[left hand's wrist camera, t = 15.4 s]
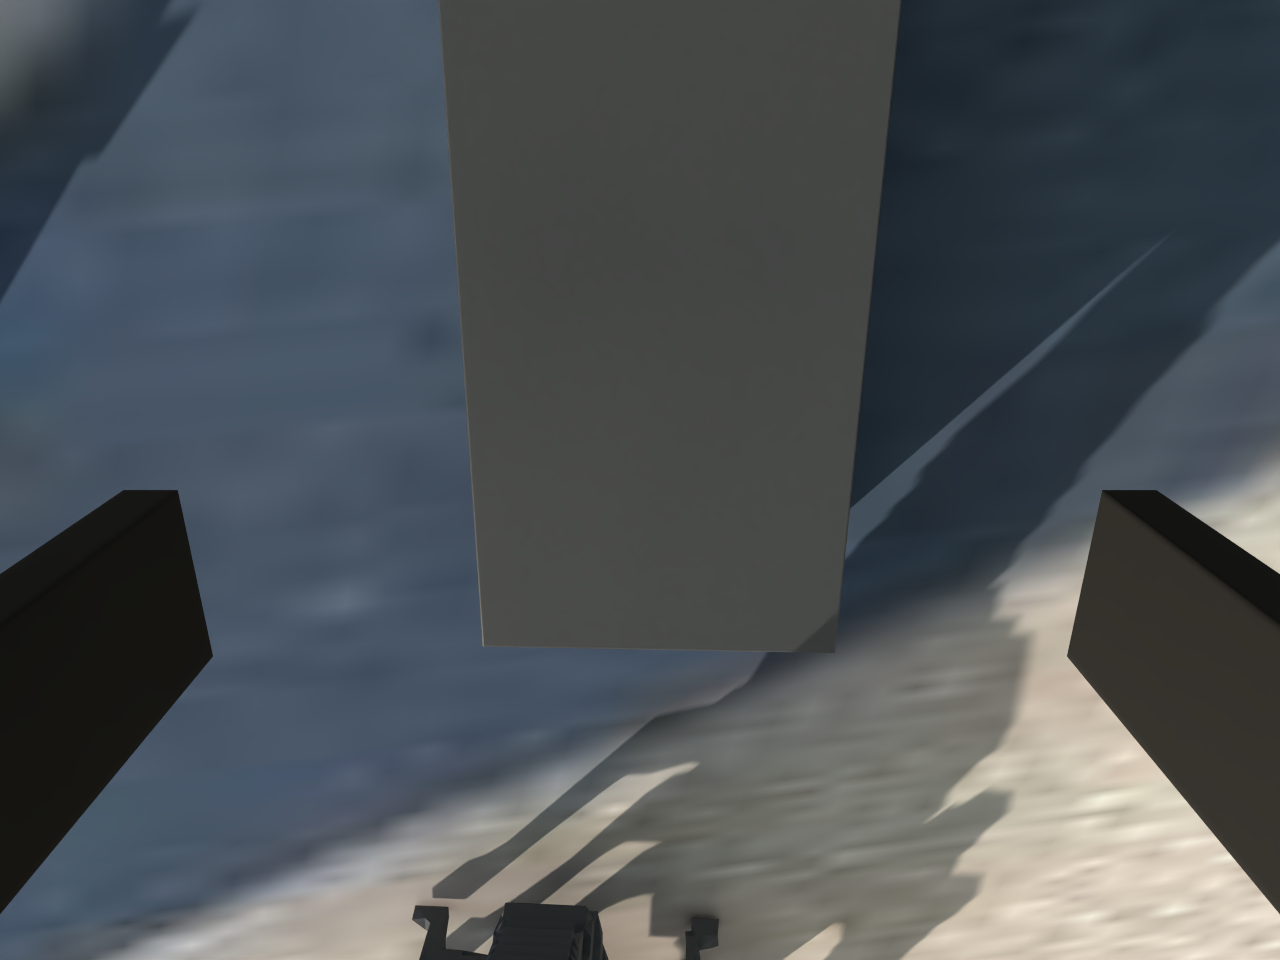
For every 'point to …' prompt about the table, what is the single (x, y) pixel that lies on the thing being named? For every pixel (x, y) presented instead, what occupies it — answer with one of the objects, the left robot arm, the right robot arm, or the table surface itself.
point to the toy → (543, 934)
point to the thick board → (665, 310)
